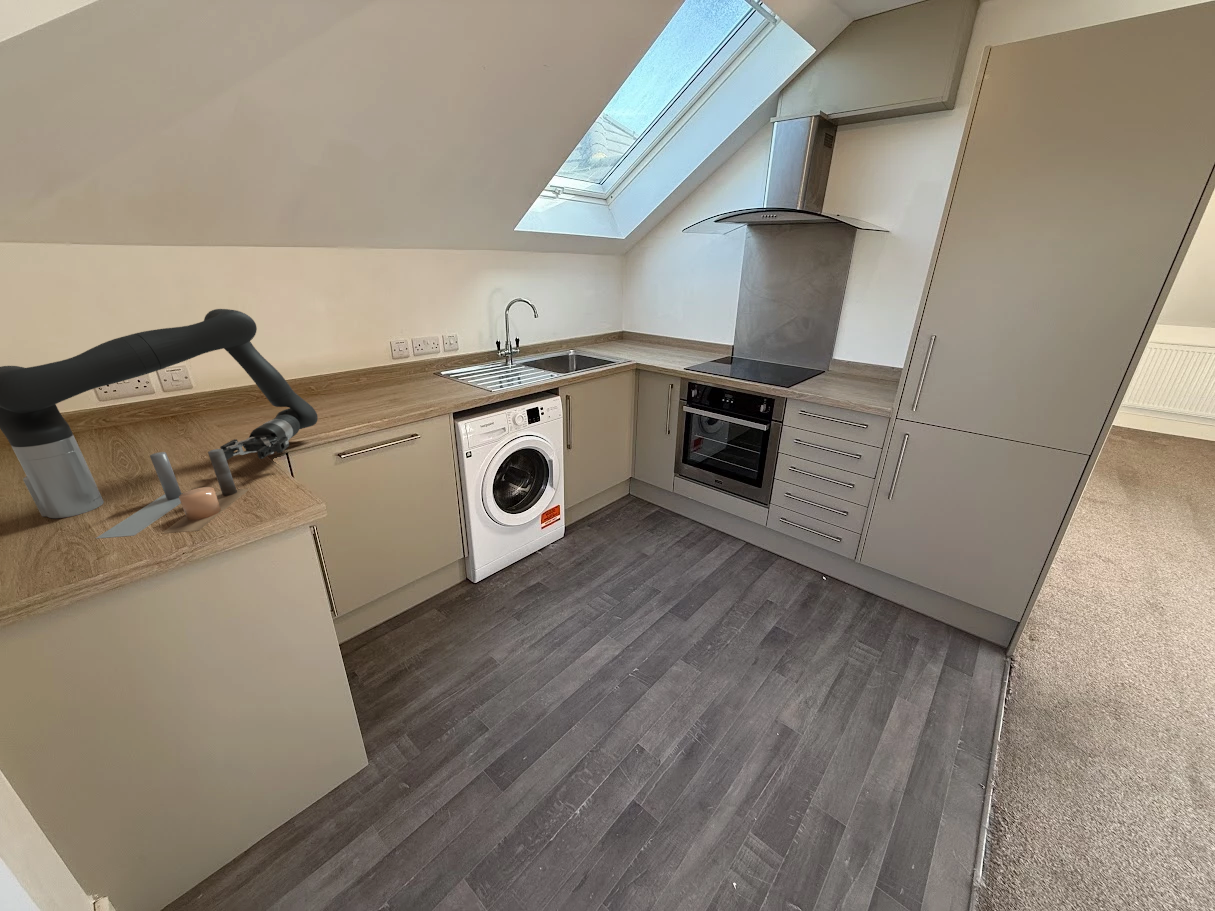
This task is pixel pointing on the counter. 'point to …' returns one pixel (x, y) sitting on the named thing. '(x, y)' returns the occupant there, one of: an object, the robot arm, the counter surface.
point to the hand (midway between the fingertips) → (241, 456)
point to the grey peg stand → (156, 507)
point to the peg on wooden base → (223, 496)
